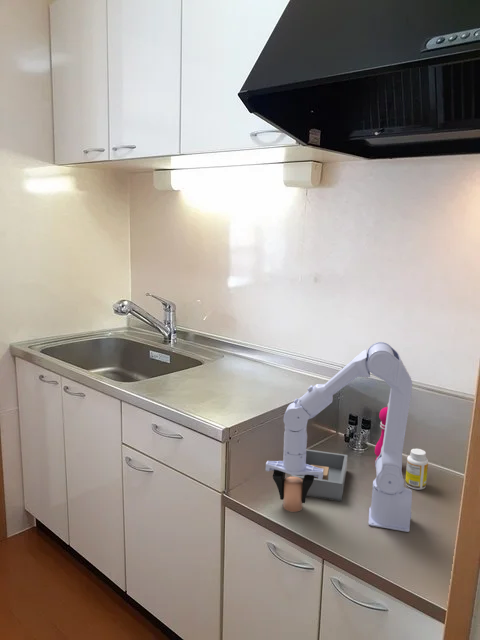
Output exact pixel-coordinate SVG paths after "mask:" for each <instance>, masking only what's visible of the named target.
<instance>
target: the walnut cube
mask: <svg viewBox="0 0 480 640" xmlns="http://www.w3.org/2000/svg"><path fill="white" fill-rule="evenodd" d="M311 466H314V467H317V468H321V469H324V470H323V478H322V479H323V480H328V475H329V467H325V466H318V465H311ZM314 478H317V479H318V477H314Z"/></svg>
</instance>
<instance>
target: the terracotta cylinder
mask: <svg viewBox="0 0 480 640" xmlns="http://www.w3.org/2000/svg"><path fill="white" fill-rule="evenodd" d="M302 496H303V480H302V479H301V478H299V477H291V476H287V477H285V479H284V494H283V500H282V507H283V509H284V510H286V511H287V512H291V513H292V512H293V513H296V512H297V513H298V512H300V511H302V510H303V504H304V503H302Z"/></svg>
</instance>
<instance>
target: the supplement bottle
mask: <svg viewBox="0 0 480 640" xmlns="http://www.w3.org/2000/svg"><path fill="white" fill-rule="evenodd" d="M409 453H410V454H409V455H408V456H407V457H406V469H405V479H404V484H405V485H406V487H408V488H409V489H410V488H411V490H417V491H418V490H419V491H421V490H424V489H425V488H426V486H427V481H428V480H427V479H428V466H429V459H428V458H427V457H426V454H427V452H426V451H425V450H424V449H421V448H412V449H411V450H410V452H409Z"/></svg>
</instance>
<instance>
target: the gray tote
mask: <svg viewBox="0 0 480 640" xmlns="http://www.w3.org/2000/svg"><path fill="white" fill-rule="evenodd" d="M306 464H308V465H318V466H325V467H329V475H328V480H323V479H317V478H314V480H313V483H312V485H311V487H310V488H309V490H308V493H307V496H306V497H312V498H318V499H319V498H320V499H324V500H330V501H331V500H332V501H337V502H342V500H343V494H344V488H345V482H346V475H347V470H348V469H347V468H348V454H343V453H336V452H328V451H321V450H314V449H307V448H306ZM304 476H305V475H291V474H290V477H299V478H301V479H302V480H303V478H304Z"/></svg>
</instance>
